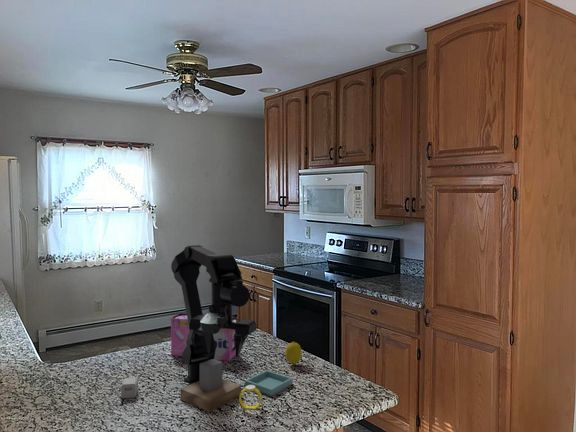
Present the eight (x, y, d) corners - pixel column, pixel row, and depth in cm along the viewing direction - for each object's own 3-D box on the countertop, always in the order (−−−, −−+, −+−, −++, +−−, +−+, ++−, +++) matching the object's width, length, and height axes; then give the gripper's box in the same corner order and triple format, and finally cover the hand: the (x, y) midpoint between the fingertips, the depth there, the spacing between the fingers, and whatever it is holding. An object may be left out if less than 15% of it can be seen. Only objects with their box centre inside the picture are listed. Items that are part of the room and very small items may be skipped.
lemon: (300, 368, 149) (300, 344, 149) (283, 367, 151) (283, 343, 150) (302, 362, 155) (303, 339, 154) (287, 361, 156) (287, 338, 156)
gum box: (241, 354, 163) (241, 317, 162) (233, 362, 155) (233, 323, 154) (180, 348, 169) (180, 312, 168) (170, 355, 161) (169, 318, 160)
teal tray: (244, 387, 135) (244, 380, 135) (266, 376, 143) (266, 370, 143) (271, 396, 129) (271, 389, 129) (292, 384, 137) (292, 378, 137)
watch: (239, 411, 121) (237, 389, 121) (241, 406, 124) (239, 385, 123) (261, 410, 120) (259, 388, 120) (262, 405, 123) (261, 384, 123)
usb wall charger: (121, 398, 127) (120, 384, 127) (125, 388, 134) (124, 374, 134) (135, 397, 128) (135, 383, 128) (139, 387, 135) (138, 373, 135)
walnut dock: (180, 399, 127) (180, 388, 127) (211, 384, 136) (211, 375, 136) (210, 411, 120) (210, 400, 119) (241, 395, 129) (241, 385, 129)
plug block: (199, 388, 127) (199, 363, 127) (212, 382, 131) (212, 358, 131) (209, 392, 125) (209, 367, 124) (222, 386, 129) (222, 361, 128)
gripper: (176, 303, 122) (177, 360, 122) (239, 309, 115) (239, 369, 116) (198, 295, 132) (199, 348, 133) (257, 300, 126) (257, 355, 126)
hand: (222, 355), depth 127 cm, fingers open, 9 cm apart
